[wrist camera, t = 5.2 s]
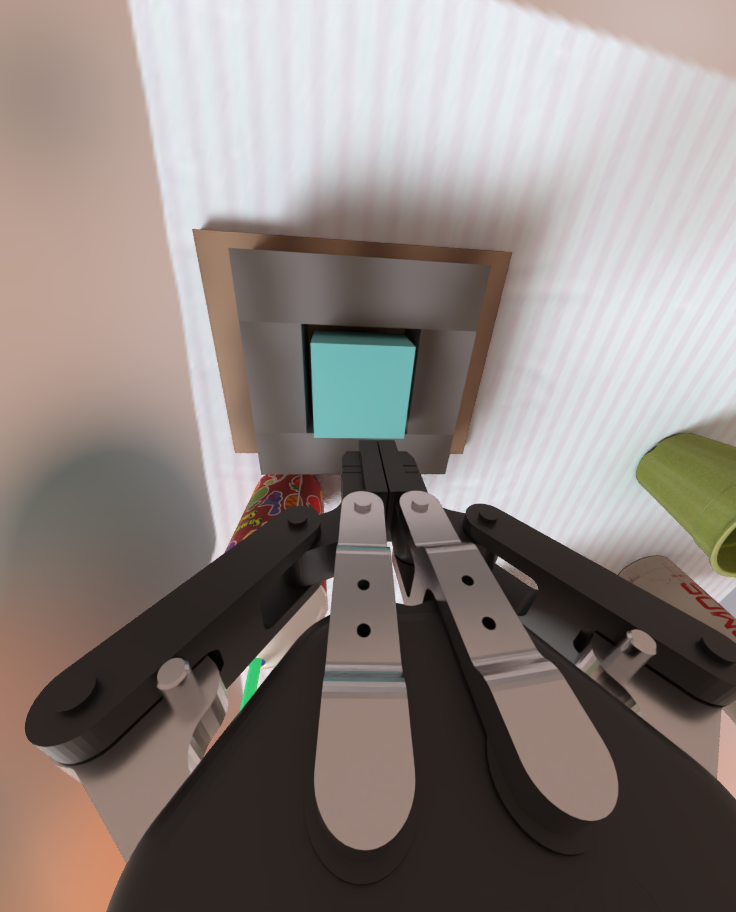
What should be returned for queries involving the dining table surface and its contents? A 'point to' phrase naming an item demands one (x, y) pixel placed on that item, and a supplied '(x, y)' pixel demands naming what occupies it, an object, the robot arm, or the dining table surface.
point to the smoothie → (261, 508)
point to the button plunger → (360, 384)
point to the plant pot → (697, 492)
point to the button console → (347, 310)
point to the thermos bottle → (681, 597)
